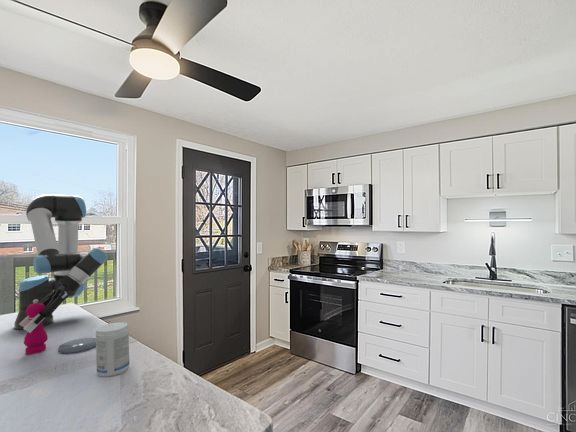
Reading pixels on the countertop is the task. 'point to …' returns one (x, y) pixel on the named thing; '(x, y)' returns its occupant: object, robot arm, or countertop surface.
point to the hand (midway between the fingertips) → (24, 328)
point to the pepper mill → (35, 330)
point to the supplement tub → (112, 349)
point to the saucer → (77, 345)
